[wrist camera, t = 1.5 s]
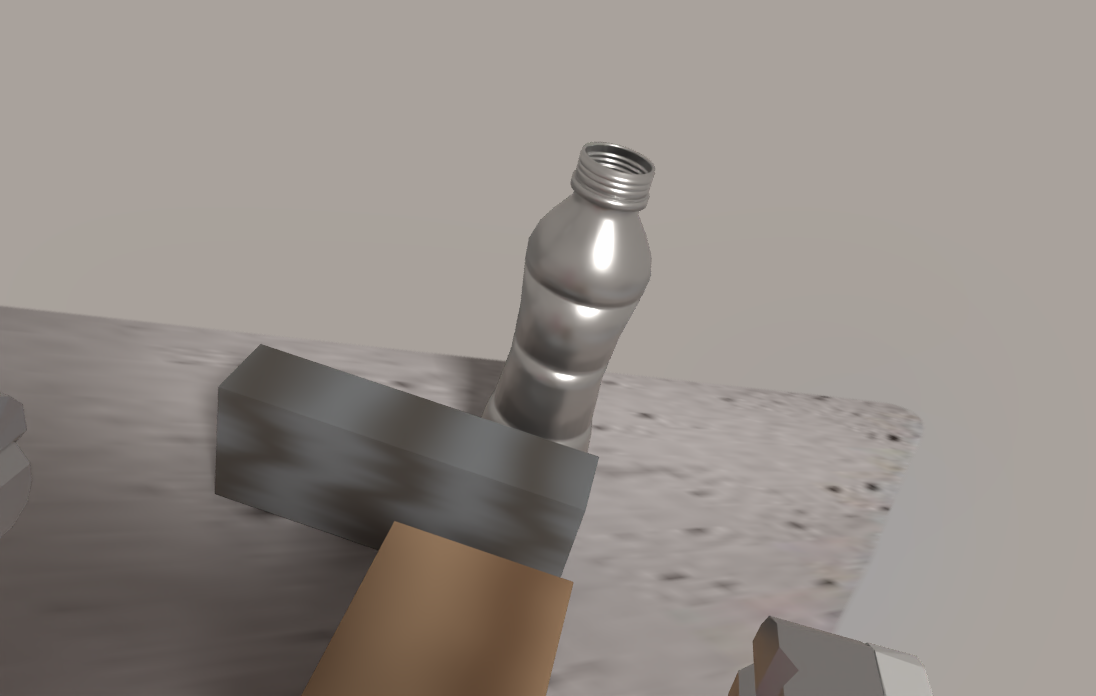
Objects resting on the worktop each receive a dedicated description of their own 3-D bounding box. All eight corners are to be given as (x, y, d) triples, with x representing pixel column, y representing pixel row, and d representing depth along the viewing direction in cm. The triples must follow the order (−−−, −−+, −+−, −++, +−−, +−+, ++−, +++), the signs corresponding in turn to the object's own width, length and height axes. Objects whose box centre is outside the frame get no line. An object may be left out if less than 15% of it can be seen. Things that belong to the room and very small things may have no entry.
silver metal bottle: (549, 426, 54) (641, 133, 43) (595, 502, 49) (712, 193, 38) (455, 436, 51) (529, 123, 40) (494, 518, 46) (590, 188, 35)
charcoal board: (214, 493, 43) (218, 386, 39) (254, 446, 46) (260, 344, 42) (548, 608, 42) (585, 510, 38) (564, 552, 45) (599, 456, 42)
